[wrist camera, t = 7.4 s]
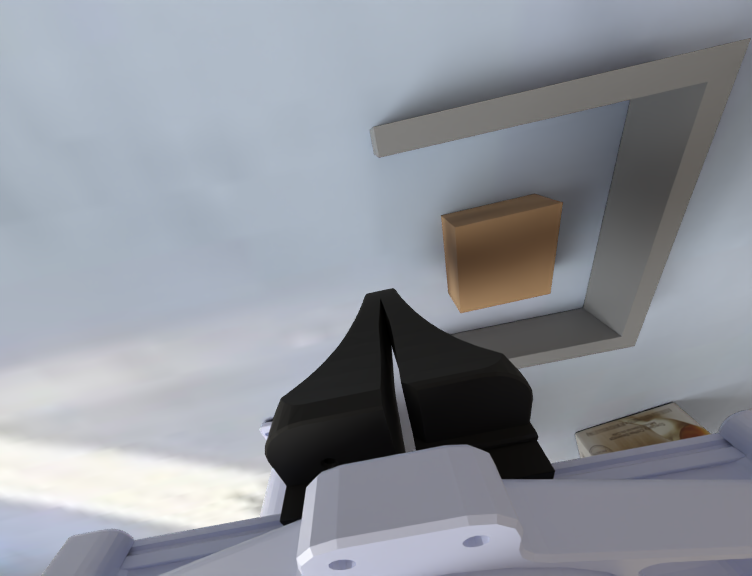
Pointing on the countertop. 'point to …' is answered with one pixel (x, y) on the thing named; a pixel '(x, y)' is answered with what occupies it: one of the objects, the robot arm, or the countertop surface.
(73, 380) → the countertop surface
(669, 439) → the coffee box
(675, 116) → the grey u-shaped bracket
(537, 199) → the walnut tile
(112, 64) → the countertop surface
